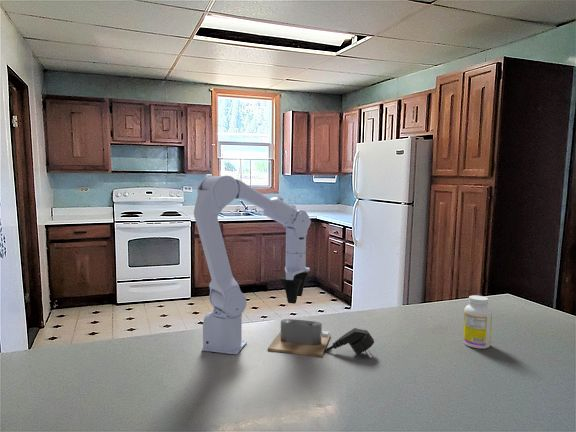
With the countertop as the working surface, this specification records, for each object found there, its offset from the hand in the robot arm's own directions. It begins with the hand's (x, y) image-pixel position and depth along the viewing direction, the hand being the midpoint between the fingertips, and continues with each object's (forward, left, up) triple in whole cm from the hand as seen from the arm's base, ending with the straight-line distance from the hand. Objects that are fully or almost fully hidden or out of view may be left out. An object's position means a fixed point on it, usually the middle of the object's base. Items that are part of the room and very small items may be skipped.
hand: (295, 299), depth 117 cm
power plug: (+17, -11, -10) cm, 22 cm away
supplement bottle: (+49, +4, -10) cm, 50 cm away
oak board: (+4, -8, -9) cm, 13 cm away
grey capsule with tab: (+4, -8, -9) cm, 12 cm away
